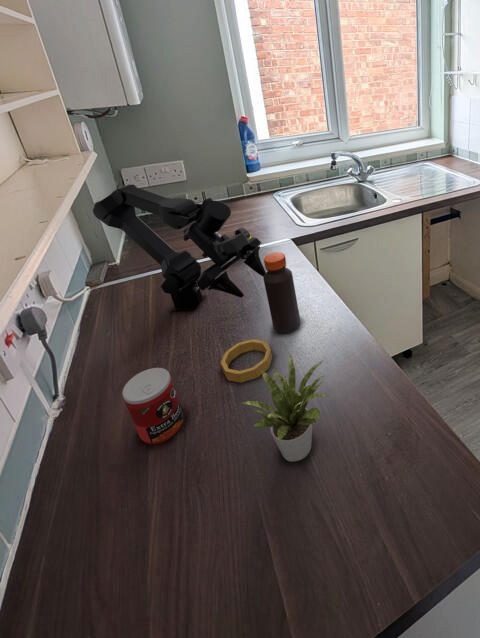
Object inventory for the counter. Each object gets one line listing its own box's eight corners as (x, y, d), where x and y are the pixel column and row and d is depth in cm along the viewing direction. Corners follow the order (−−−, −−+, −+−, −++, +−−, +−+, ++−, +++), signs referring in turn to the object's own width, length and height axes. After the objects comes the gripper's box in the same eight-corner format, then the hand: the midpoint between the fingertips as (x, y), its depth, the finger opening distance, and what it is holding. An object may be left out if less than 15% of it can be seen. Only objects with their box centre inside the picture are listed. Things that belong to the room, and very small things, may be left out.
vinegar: (268, 327, 102) (253, 258, 94) (290, 314, 107) (278, 247, 99) (283, 338, 98) (269, 267, 90) (306, 324, 102) (294, 255, 95)
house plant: (354, 418, 76) (346, 350, 70) (328, 493, 63) (315, 419, 57) (285, 407, 79) (271, 341, 73) (247, 476, 67) (227, 404, 60)
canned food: (155, 453, 72) (136, 408, 67) (131, 433, 76) (112, 389, 71) (193, 420, 78) (179, 377, 73) (169, 403, 82) (154, 361, 77)
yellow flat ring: (217, 384, 86) (214, 375, 85) (233, 349, 95) (230, 340, 94) (264, 381, 86) (262, 372, 85) (275, 346, 95) (274, 337, 94)
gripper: (194, 241, 88) (245, 291, 89) (249, 208, 104) (291, 251, 105) (176, 266, 94) (223, 314, 94) (230, 232, 110) (271, 272, 110)
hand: (254, 286), depth 101 cm, fingers open, 9 cm apart
